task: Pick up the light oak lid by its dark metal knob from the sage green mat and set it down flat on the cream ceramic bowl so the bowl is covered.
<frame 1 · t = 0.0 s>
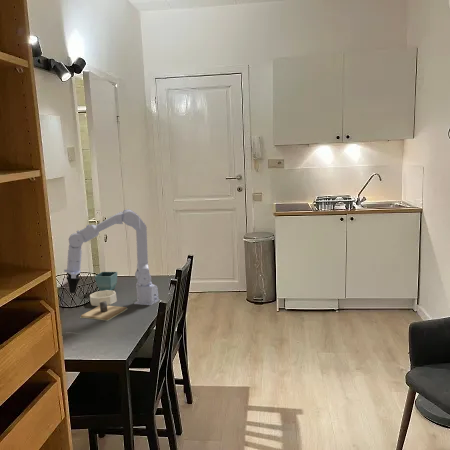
hand: (72, 290, 212), 11 cm above the table, tool pointing down, fingers open, 7 cm apart
flower pot: (107, 291, 246), on the table
lid: (104, 312, 211), resting on mat
bowl: (103, 302, 227), on the table
mat: (104, 313, 211), on the table
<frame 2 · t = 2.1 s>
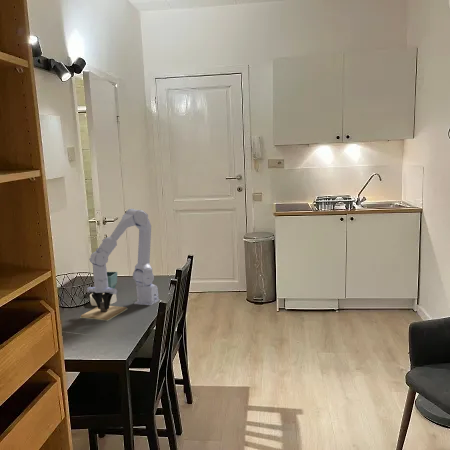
hand: (103, 308, 210), 2 cm above the table, tool pointing down, fingers closed on lid, 3 cm apart
lid: (104, 312, 211), resting on mat, touching gripper
everything else where it was.
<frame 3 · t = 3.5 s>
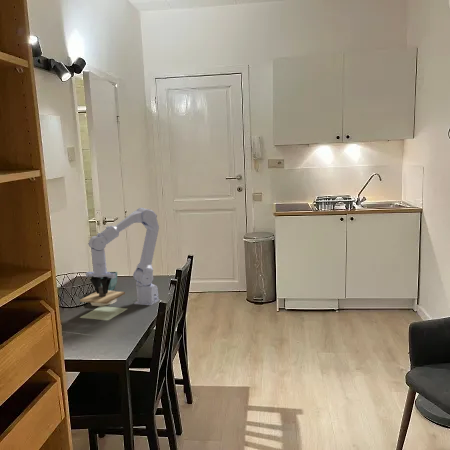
hand: (102, 293, 211), 9 cm above the table, tool pointing down, fingers closed on lid, 3 cm apart
lid: (102, 297, 212), point 7 cm above the table, touching gripper
everything else where it was.
when the fingers open (7 cm above the table, at t = 5.0 s): lid drops 1 cm, resting on bowl.
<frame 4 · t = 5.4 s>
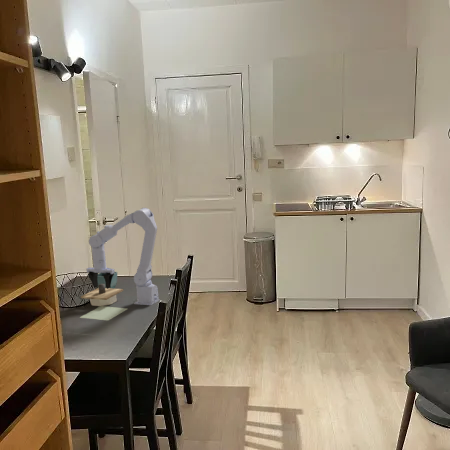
hand: (102, 287, 225), 7 cm above the table, tool pointing down, fingers open, 7 cm apart
lid: (102, 294, 226), point 4 cm above the table, touching bowl
bowl: (103, 302, 227), on the table, touching lid
everything else where it was.
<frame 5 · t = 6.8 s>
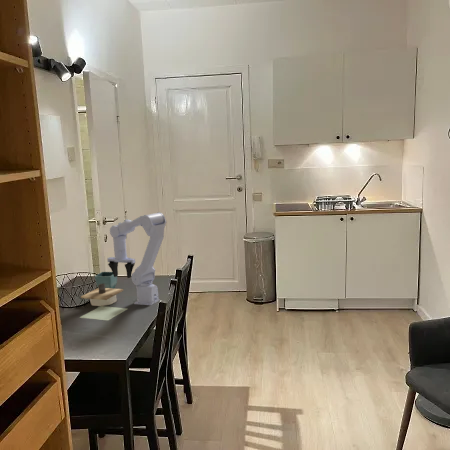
hand: (122, 277, 231), 10 cm above the table, tool pointing down, fingers open, 7 cm apart
nothing on the table moved.
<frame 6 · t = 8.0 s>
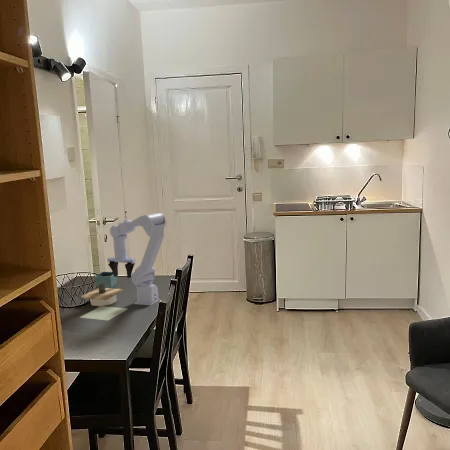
hand: (122, 276, 231), 10 cm above the table, tool pointing down, fingers open, 7 cm apart
nothing on the table moved.
at the end: lid 0.4 cm off-centre on the bowl, point 4.2 cm above the bowl's base; lid tilted 0°; the gripper is holding nothing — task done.
